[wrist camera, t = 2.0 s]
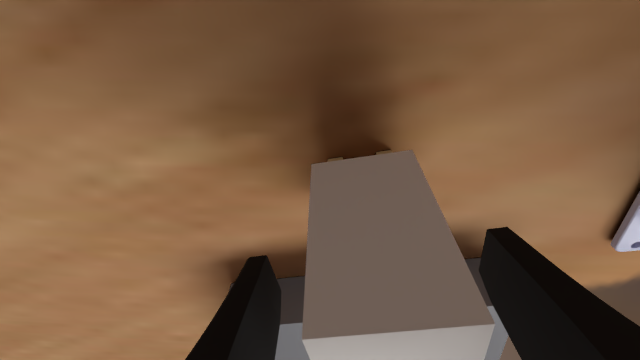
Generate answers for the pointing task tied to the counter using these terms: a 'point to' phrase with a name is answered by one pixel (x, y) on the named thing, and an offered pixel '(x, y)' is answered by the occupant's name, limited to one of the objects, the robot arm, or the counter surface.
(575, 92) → the counter surface
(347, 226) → the plug
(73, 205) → the counter surface
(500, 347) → the socket plate
